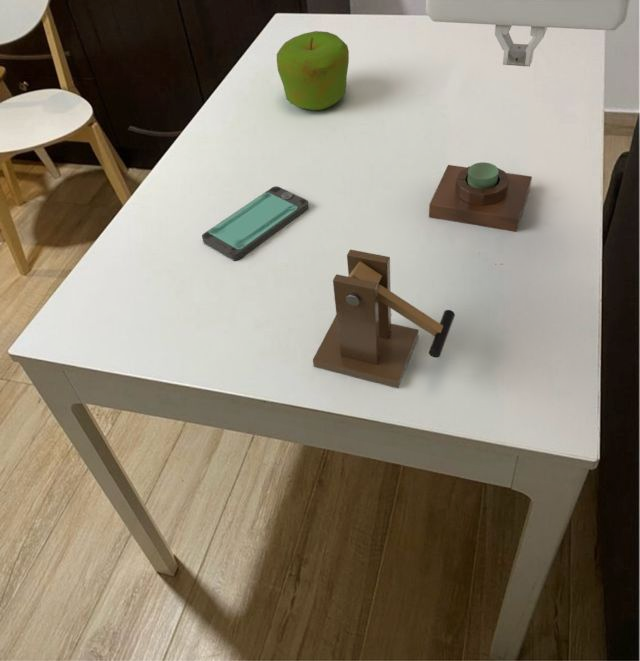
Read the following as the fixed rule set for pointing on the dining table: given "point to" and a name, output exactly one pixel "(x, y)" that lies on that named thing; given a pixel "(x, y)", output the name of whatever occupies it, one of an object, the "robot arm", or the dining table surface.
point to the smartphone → (255, 222)
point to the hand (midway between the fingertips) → (517, 63)
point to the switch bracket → (365, 328)
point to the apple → (313, 69)
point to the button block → (480, 199)
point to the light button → (482, 175)
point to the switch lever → (408, 309)
